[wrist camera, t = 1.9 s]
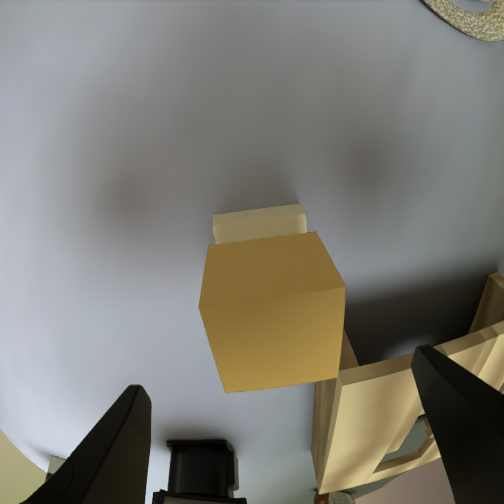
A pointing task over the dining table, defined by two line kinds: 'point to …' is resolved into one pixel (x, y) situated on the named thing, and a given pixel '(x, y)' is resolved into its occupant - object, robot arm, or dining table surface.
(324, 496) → the tin
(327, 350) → the mustard yellow block
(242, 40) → the dining table surface
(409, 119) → the dining table surface
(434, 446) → the keyhole board
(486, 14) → the pastry
